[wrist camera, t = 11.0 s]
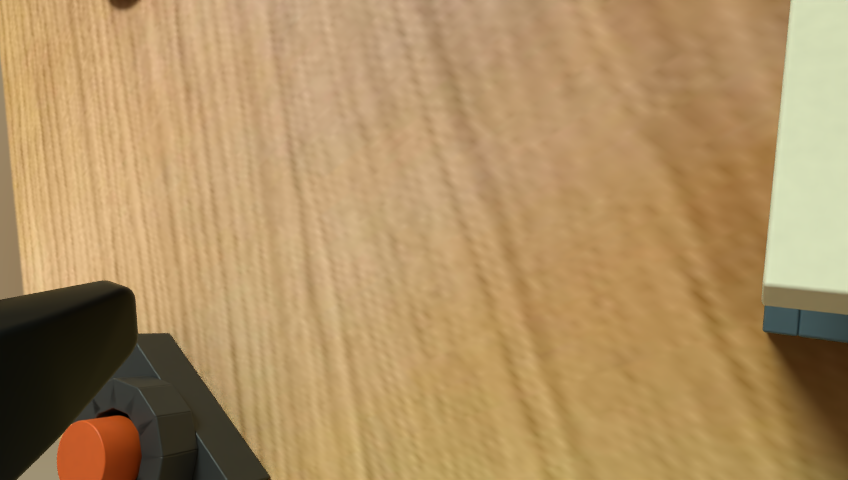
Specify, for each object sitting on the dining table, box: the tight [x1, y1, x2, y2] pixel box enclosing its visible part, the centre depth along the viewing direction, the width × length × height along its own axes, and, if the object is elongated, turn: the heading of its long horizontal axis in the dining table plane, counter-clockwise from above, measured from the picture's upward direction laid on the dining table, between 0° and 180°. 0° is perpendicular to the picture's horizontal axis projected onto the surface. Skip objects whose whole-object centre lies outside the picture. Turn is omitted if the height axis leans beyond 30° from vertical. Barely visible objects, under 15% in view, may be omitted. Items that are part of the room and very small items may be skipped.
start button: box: [57, 415, 142, 480], centre depth 26 cm, size 3×3×2 cm
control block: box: [72, 333, 269, 480], centre depth 28 cm, size 9×6×4 cm, turn 48°
